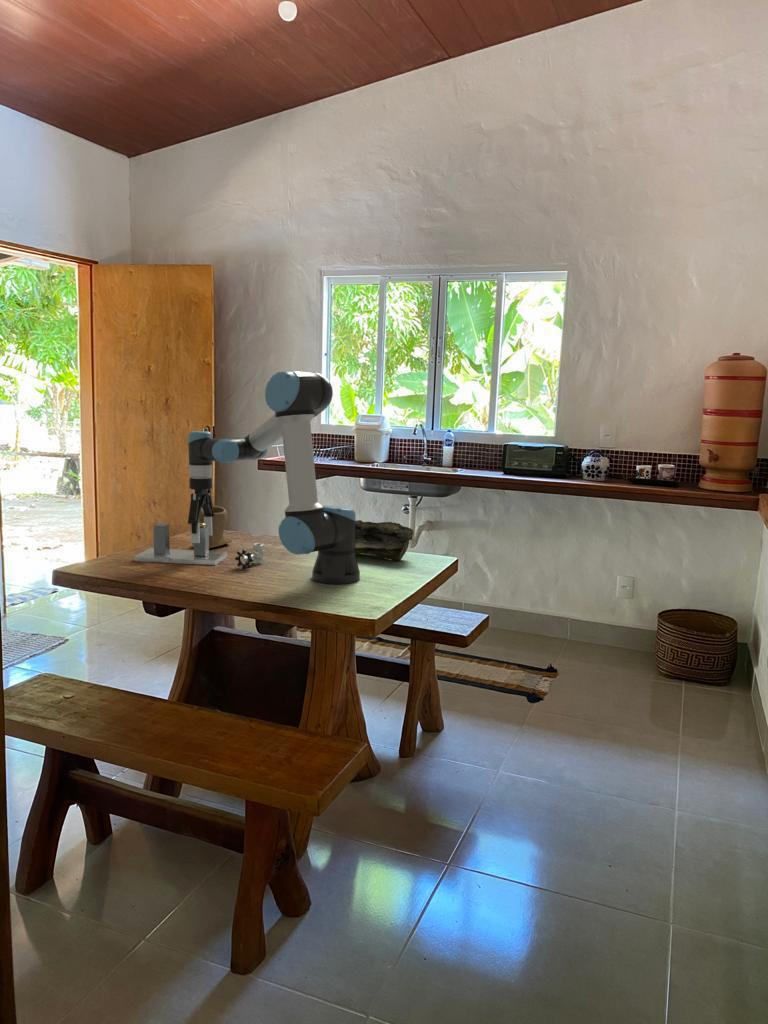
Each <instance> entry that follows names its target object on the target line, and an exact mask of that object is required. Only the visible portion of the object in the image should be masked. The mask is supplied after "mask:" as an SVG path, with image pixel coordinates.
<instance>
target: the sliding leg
mask: <svg viewBox="0 0 768 1024" xmlns="http://www.w3.org/2000/svg"><path fill="white" fill-rule="evenodd" d="M198 524H199V531H200V543H194V545H193V550H194V555H197V556H206V555H207V554H209V551H210V548H209V526H205V523H199V522H198Z"/></svg>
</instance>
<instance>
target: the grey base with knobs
mask: <svg viewBox="0 0 768 1024" xmlns="http://www.w3.org/2000/svg"><path fill="white" fill-rule="evenodd" d="M152 527H153V547H150V548H147V549H146V550H144V551H142V552H140V553H139V554H136V555H134V556H133V561H134V562H141V563H142V562H143V563H144V562H146V563H160V564H161V563H162V564H163V563H167V564H181V565H182V564H186V565H204V566H205V565H206V566H217V564H220V562H221V561H223V560H224V559H225V558H226V557H228V551H220V550H209V554H207V555H206V556H197V555H194V549H177V548H171V547H170V544H171V543H170V523H156V524H153V526H152Z"/></svg>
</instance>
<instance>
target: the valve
mask: <svg viewBox="0 0 768 1024" xmlns="http://www.w3.org/2000/svg"><path fill="white" fill-rule="evenodd" d="M252 549H253V550H252V551H250V552H248V553H247V549H242V550H239V551H237V552H236V554H237V556H235V557H234V560H235V561H238V563H237V564H236V566H237V567H241V566H242V570H246V569H247V568H249V569H250V568H251V567H252V566H253V565H252V564H255V565H262V564H265V556H266V551H265V543H261V542H257V543H256V542H255V543H253V544H252ZM241 557H242V558H241ZM251 563H252V564H251Z"/></svg>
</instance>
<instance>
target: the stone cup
mask: <svg viewBox="0 0 768 1024" xmlns="http://www.w3.org/2000/svg"><path fill="white" fill-rule="evenodd" d="M213 509H214V514H215V516H211V517H212V536H211V535H209V549H213V548H217V547H221V546H224V545H227V544H230V543H232V542H233V540H232V538H231V537H229V536H228V534H226V533H224V532H225V528H226V524H227V522H228V511H227V510H226V508H224V507H223V506H220V505H219V506H218V505H213ZM204 517H206V516H205V515H204V512H203V509H202V508H201V512H200V517H199V521H198V523H204ZM191 544H192V546H194V543H191Z"/></svg>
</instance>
